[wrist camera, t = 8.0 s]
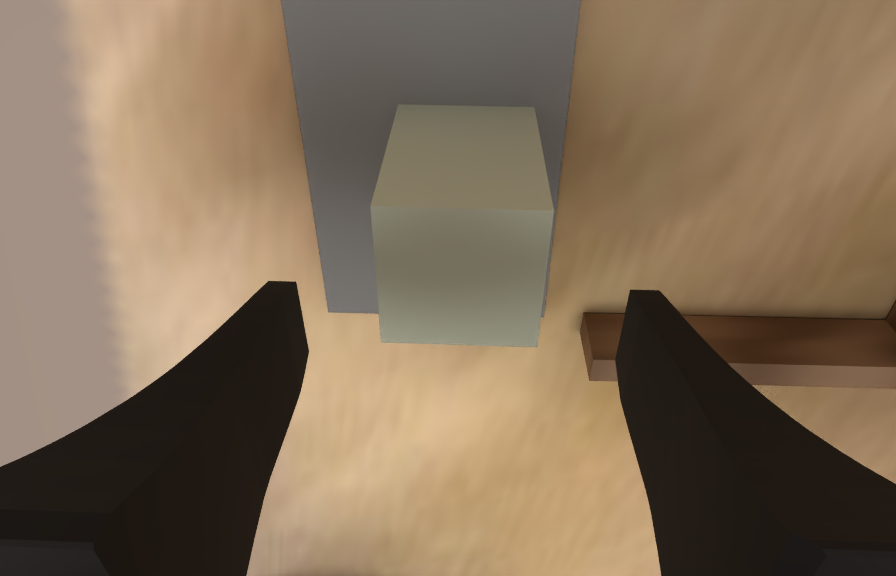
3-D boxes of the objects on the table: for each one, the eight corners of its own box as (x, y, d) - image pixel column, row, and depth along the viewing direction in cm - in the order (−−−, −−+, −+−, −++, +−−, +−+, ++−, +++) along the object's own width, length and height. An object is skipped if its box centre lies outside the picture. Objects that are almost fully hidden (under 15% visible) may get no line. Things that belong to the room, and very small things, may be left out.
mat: (584, -49, 16) (585, -47, 16) (542, 312, 23) (543, 317, 23) (276, -50, 16) (273, -48, 16) (329, 307, 24) (328, 312, 23)
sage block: (534, 106, 18) (553, 211, 14) (523, 224, 21) (537, 347, 16) (398, 104, 19) (370, 206, 14) (403, 221, 21) (380, 342, 16)
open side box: (1153, -93, 15) (1254, -78, 13) (901, 341, 24) (940, 389, 22) (650, -94, 16) (675, -79, 14) (580, 333, 24) (589, 380, 22)
